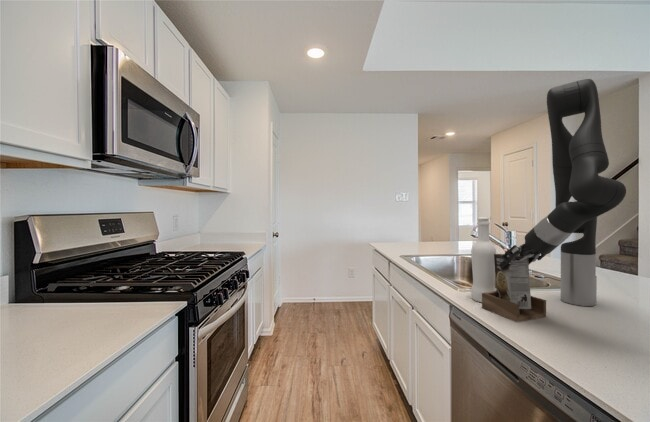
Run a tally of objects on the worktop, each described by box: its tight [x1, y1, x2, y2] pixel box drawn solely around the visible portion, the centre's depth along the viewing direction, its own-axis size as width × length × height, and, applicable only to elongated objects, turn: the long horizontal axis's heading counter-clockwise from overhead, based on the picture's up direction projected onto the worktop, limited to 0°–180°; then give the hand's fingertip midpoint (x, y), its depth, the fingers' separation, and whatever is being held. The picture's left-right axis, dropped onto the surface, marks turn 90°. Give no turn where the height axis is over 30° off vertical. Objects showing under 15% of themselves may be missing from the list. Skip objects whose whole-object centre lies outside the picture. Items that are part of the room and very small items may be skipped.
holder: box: [481, 291, 547, 323], centre depth 94 cm, size 12×12×5 cm
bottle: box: [470, 216, 497, 304], centre depth 106 cm, size 8×8×30 cm
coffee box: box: [494, 253, 532, 309], centre depth 94 cm, size 9×6×16 cm
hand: (511, 266), depth 94 cm, fingers closed on coffee box, 8 cm apart
